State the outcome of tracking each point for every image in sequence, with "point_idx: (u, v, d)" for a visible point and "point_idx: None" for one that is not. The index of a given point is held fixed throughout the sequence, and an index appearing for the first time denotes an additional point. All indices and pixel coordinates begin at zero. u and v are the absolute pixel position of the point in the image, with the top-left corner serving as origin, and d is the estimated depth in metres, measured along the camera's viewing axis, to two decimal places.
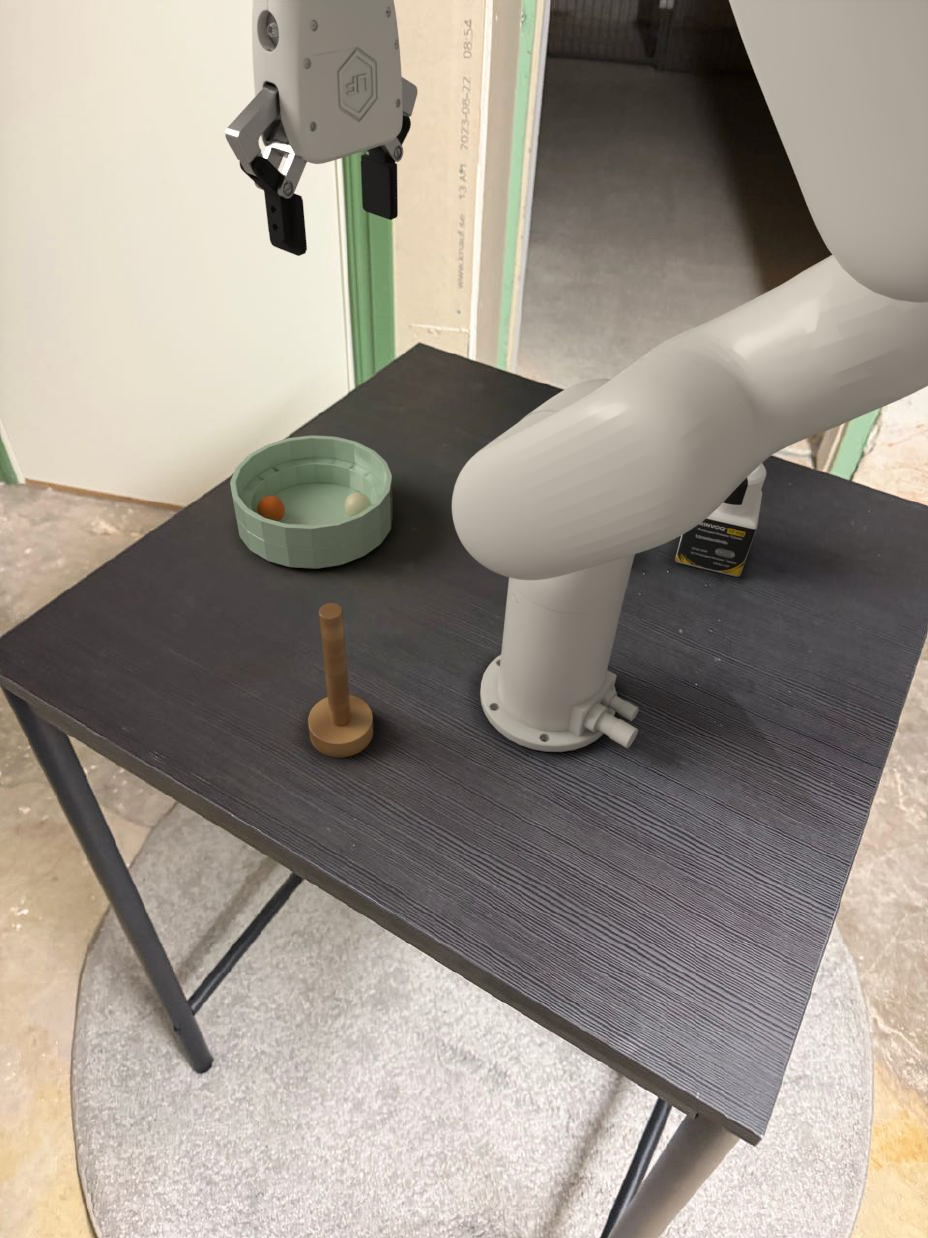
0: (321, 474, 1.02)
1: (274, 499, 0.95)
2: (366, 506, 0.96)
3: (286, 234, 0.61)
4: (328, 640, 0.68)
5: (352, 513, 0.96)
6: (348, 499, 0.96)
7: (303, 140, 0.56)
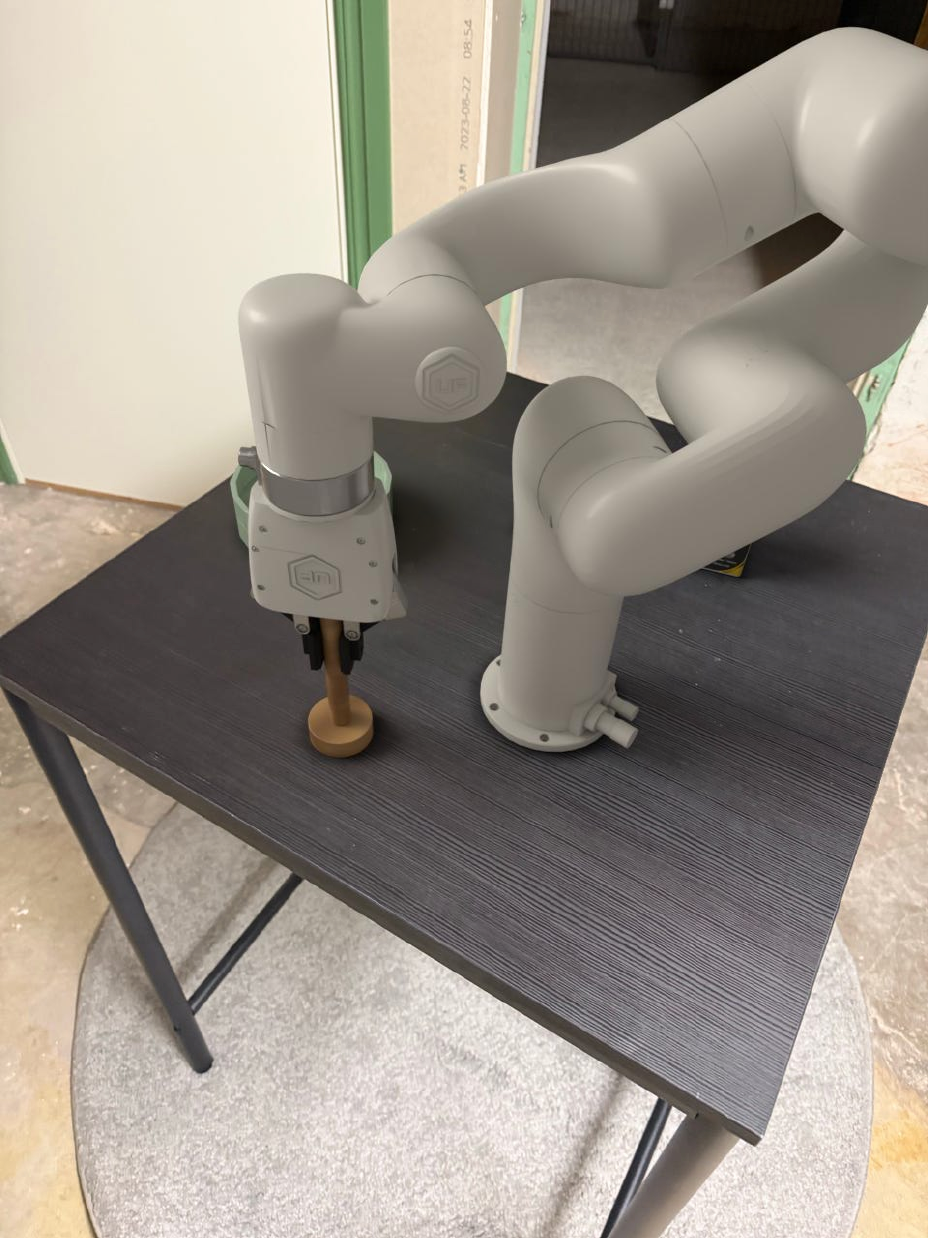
0: None
1: None
2: None
3: (306, 651, 0.69)
4: (328, 640, 0.68)
5: None
6: None
7: (254, 591, 0.63)
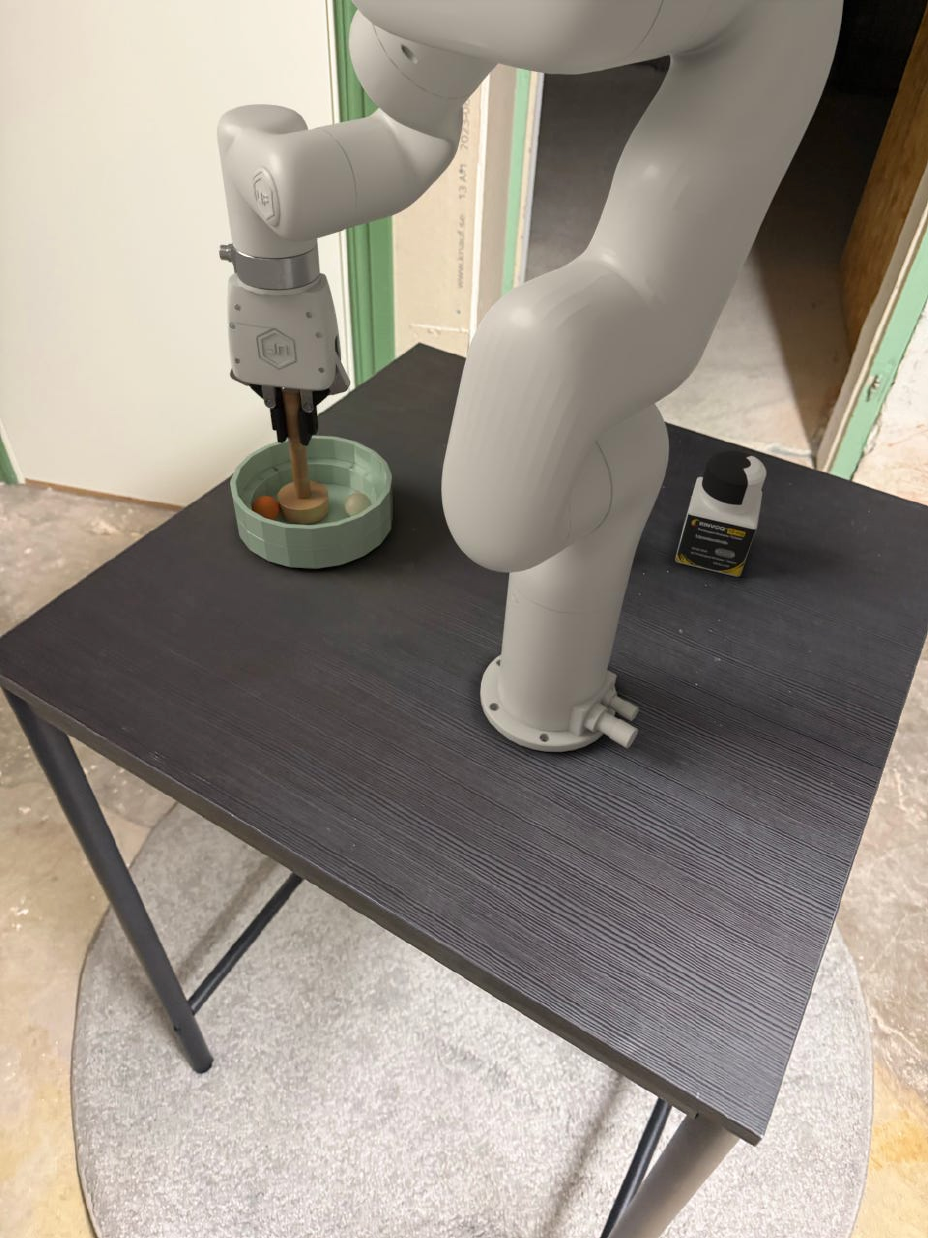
0: (321, 474, 1.02)
1: (264, 498, 0.95)
2: (366, 506, 0.96)
3: (274, 427, 0.90)
4: (289, 415, 0.89)
5: (352, 513, 0.96)
6: (348, 499, 0.96)
7: (232, 366, 0.84)
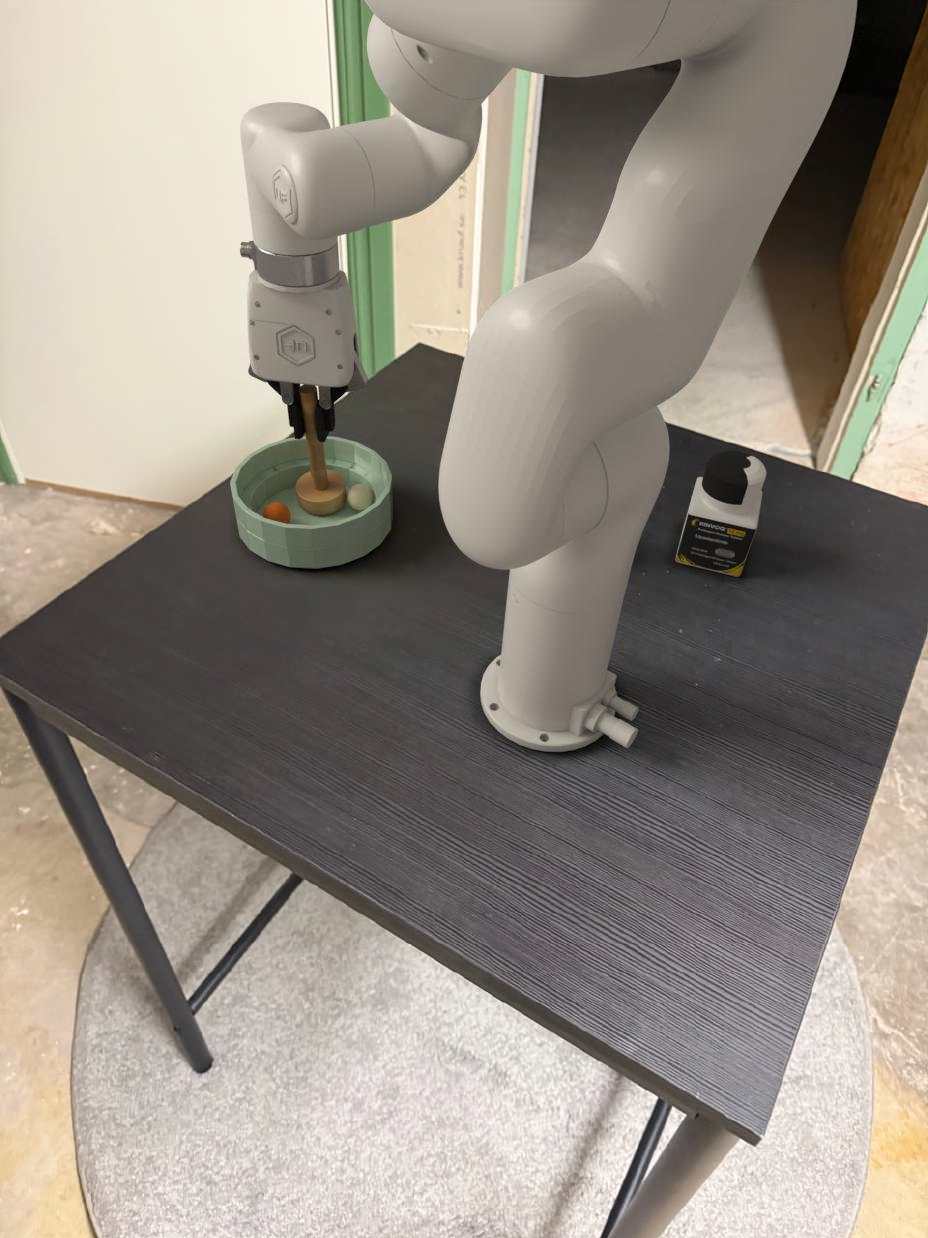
0: None
1: (285, 516, 0.95)
2: (358, 503, 0.97)
3: (291, 423, 0.91)
4: (303, 411, 0.89)
5: (347, 495, 0.98)
6: (356, 485, 0.98)
7: (251, 362, 0.85)
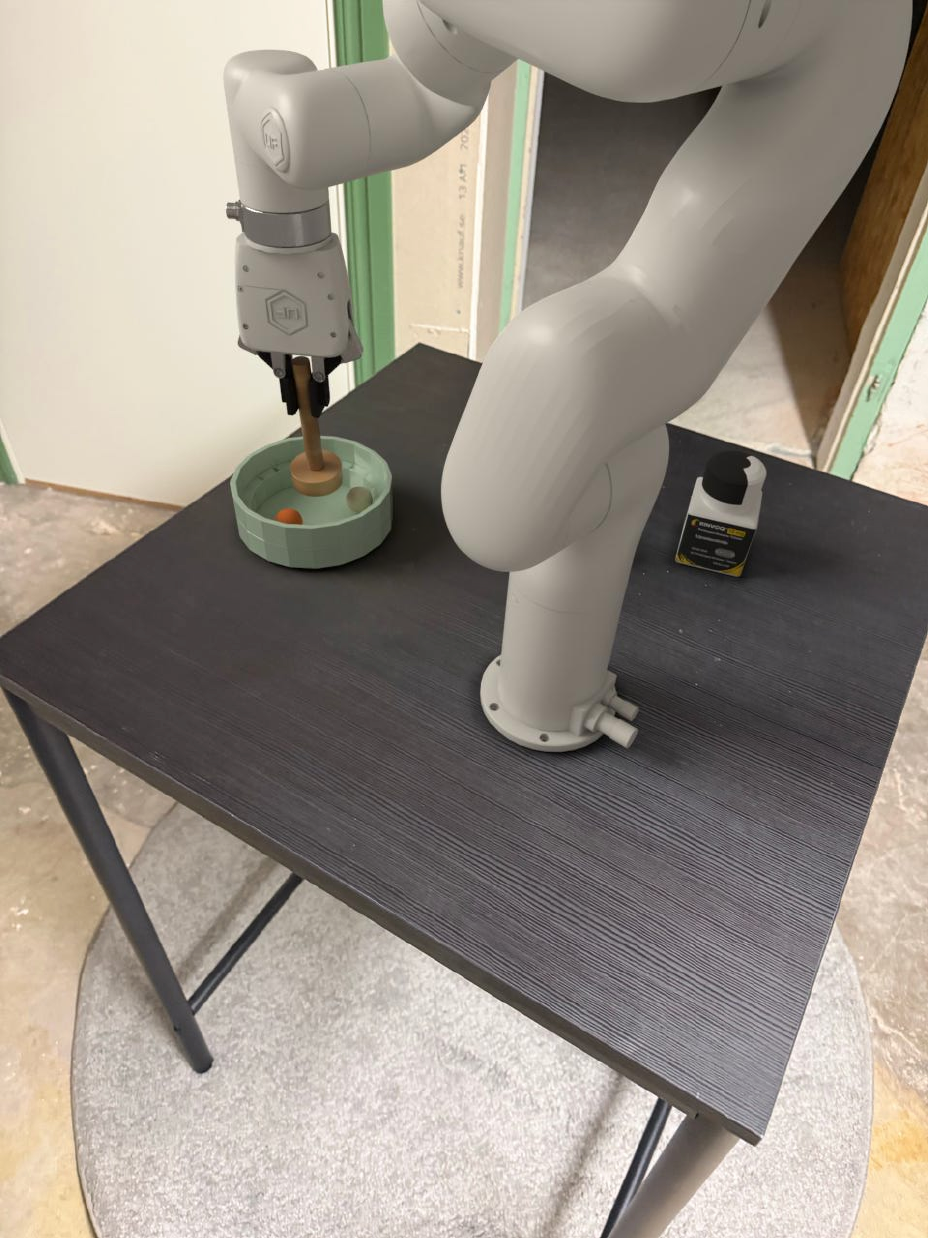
0: None
1: None
2: (357, 508, 0.97)
3: (283, 398, 0.87)
4: (296, 385, 0.85)
5: (346, 499, 0.98)
6: (355, 489, 0.97)
7: (240, 332, 0.80)
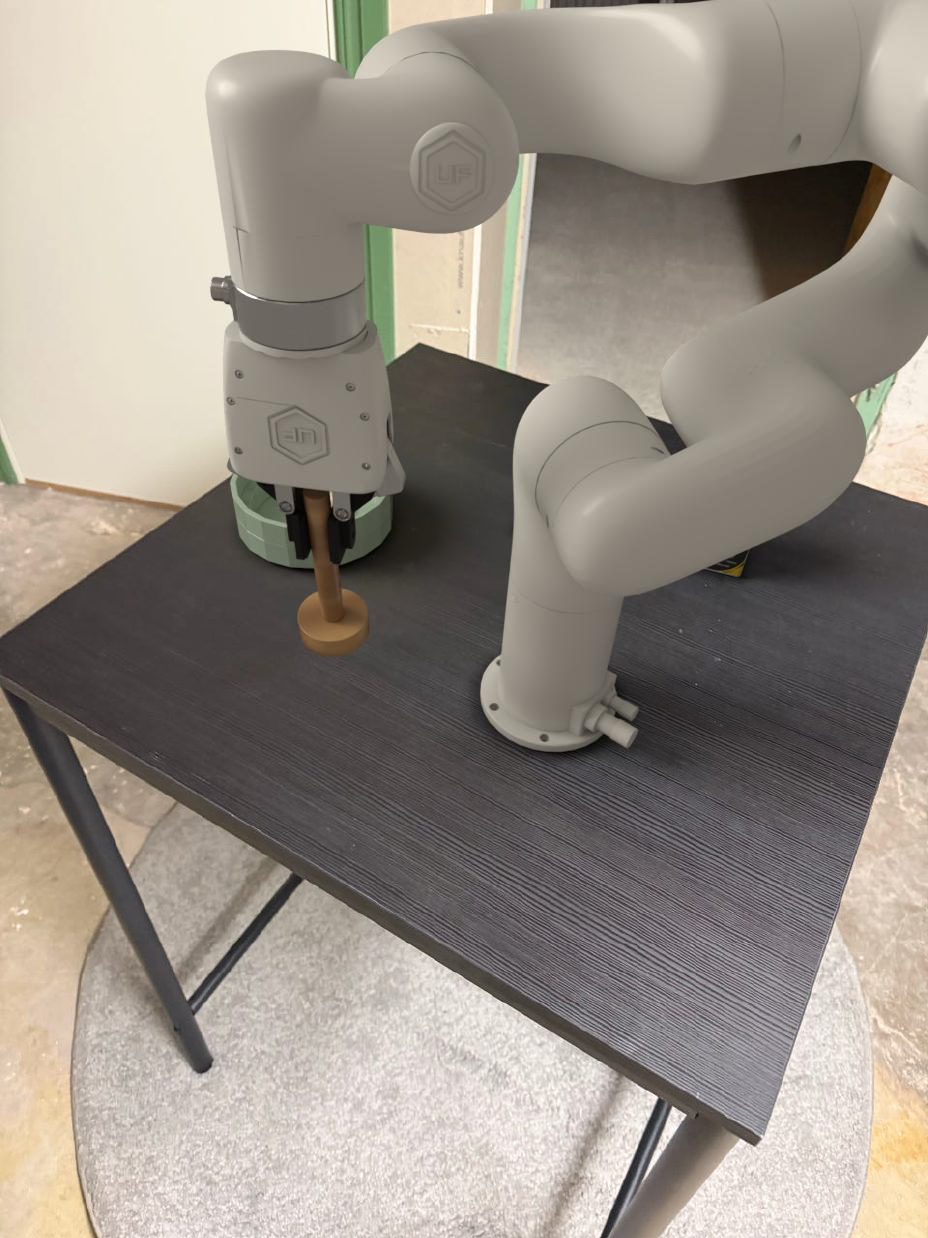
0: None
1: None
2: None
3: (291, 537, 0.62)
4: (309, 522, 0.60)
5: None
6: None
7: (231, 457, 0.56)
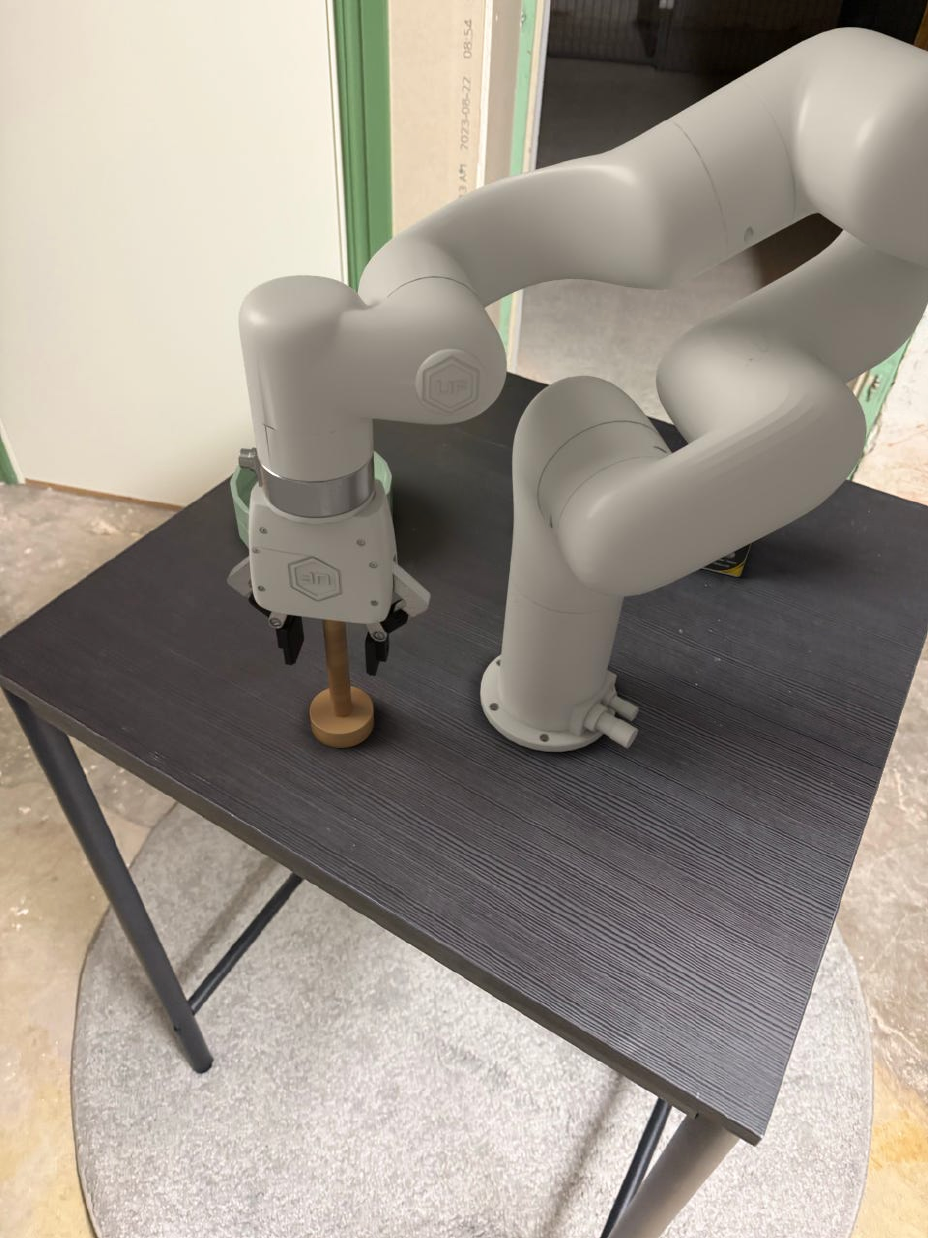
0: None
1: None
2: None
3: (281, 645, 0.69)
4: (325, 628, 0.69)
5: None
6: None
7: (254, 593, 0.63)
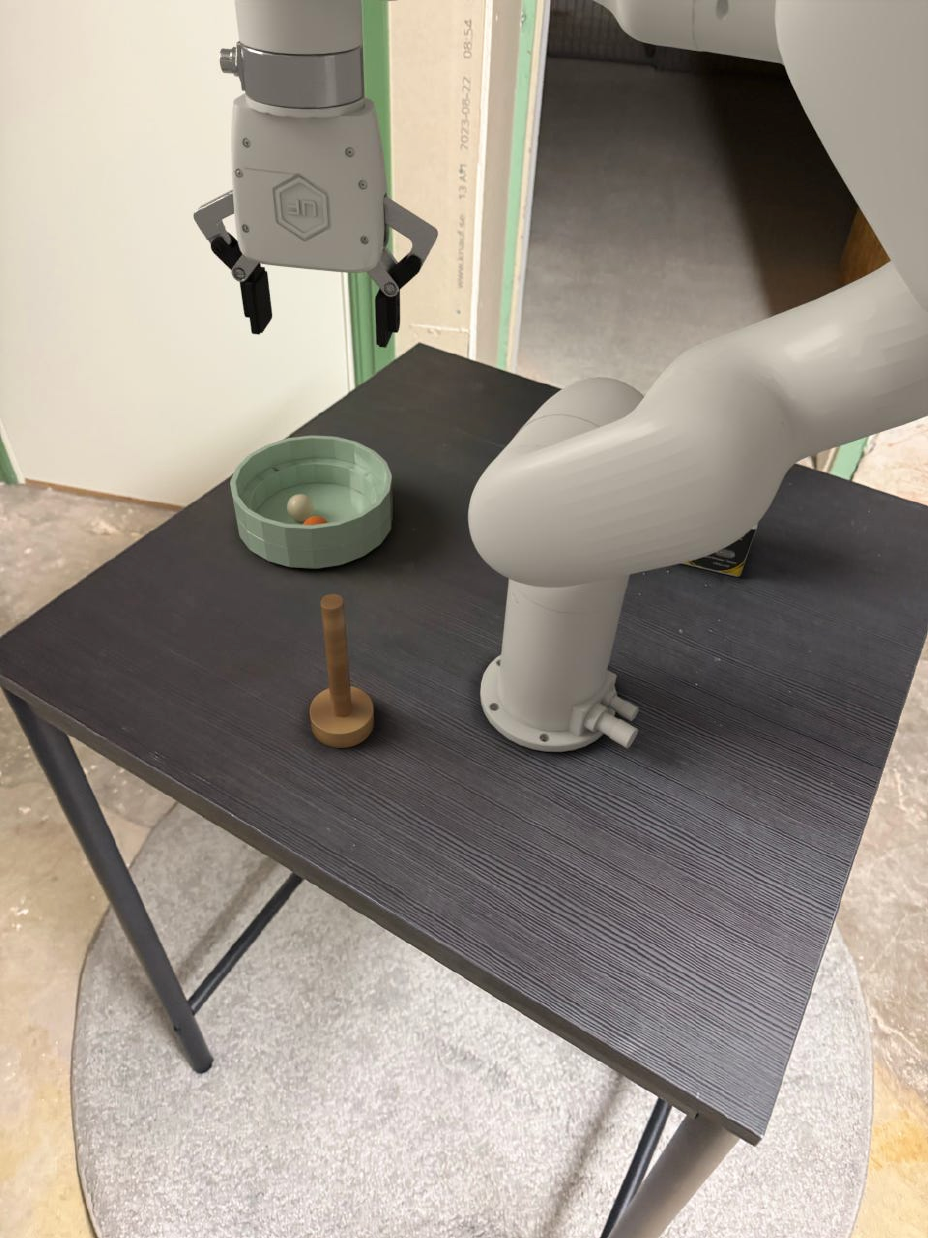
0: (321, 474, 1.02)
1: None
2: (301, 511, 0.95)
3: (246, 311, 0.65)
4: (325, 628, 0.69)
5: (305, 497, 0.96)
6: None
7: (238, 237, 0.60)
